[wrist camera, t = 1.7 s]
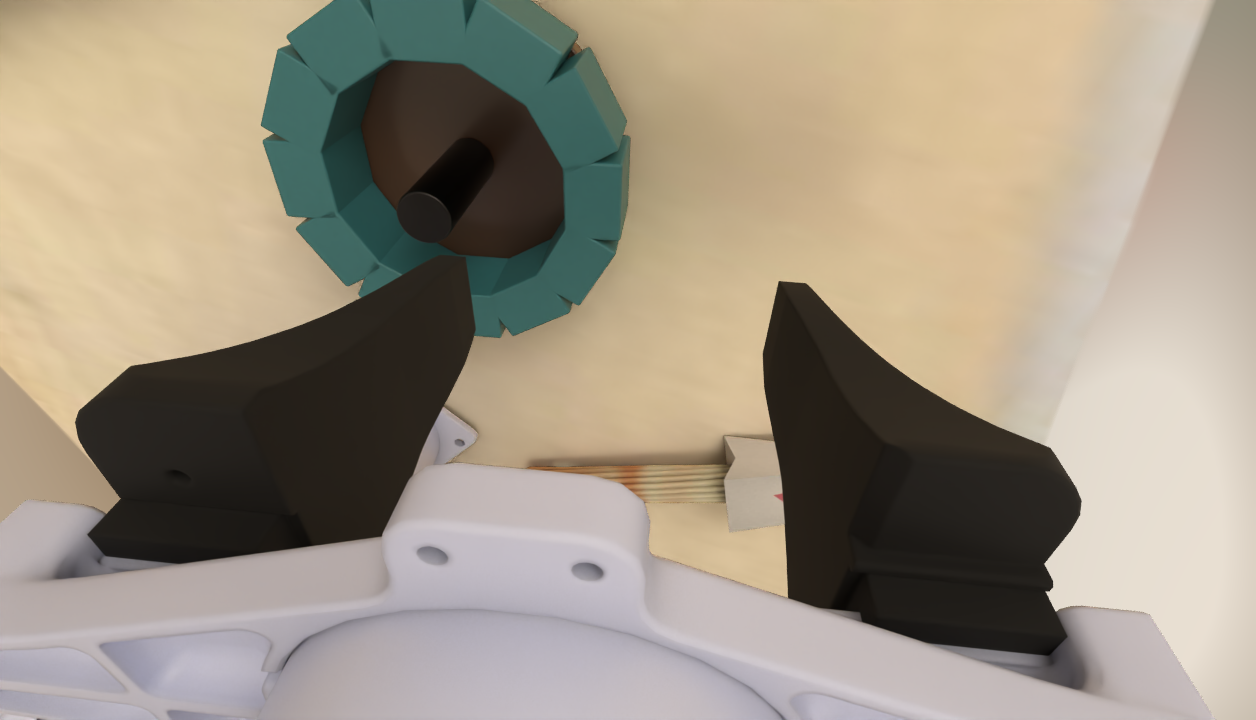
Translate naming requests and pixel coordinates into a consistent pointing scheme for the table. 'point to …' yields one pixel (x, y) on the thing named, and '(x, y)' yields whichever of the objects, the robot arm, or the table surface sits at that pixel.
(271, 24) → the table surface
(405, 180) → the post
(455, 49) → the ring
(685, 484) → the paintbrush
